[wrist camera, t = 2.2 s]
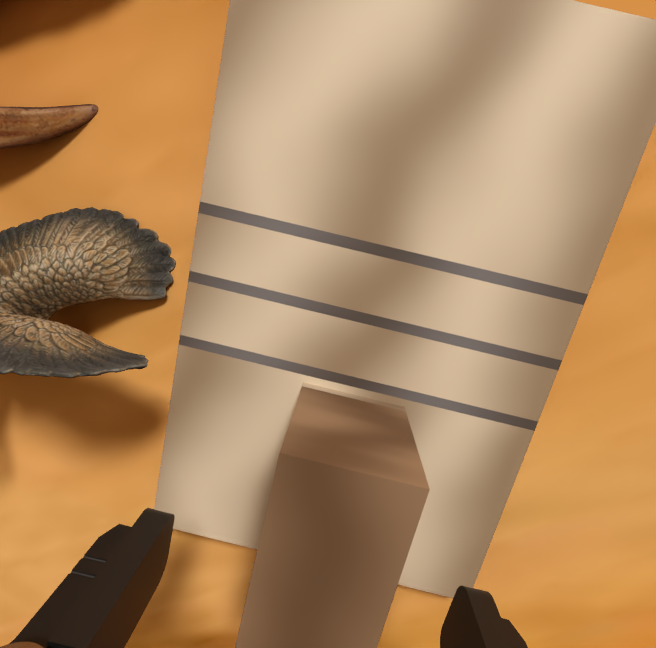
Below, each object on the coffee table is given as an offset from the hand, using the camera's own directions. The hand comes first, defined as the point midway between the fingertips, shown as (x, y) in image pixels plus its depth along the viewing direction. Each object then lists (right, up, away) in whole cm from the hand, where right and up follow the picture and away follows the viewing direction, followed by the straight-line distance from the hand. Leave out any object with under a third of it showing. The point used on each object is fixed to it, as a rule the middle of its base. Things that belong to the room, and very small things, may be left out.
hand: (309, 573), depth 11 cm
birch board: (+2, +7, +5) cm, 9 cm away
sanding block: (+1, +1, +5) cm, 5 cm away
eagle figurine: (-10, +8, +6) cm, 14 cm away
